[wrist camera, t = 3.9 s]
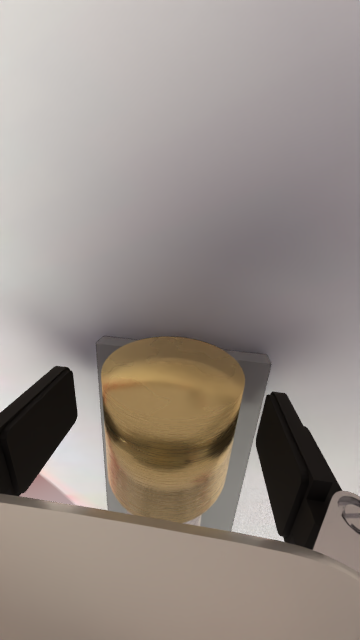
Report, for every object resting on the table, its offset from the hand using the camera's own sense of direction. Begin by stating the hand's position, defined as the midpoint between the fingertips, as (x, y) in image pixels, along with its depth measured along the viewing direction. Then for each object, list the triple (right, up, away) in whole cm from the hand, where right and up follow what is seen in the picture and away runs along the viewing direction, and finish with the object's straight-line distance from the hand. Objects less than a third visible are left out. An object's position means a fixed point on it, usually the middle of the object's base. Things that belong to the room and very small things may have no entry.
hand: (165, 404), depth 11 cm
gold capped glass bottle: (0, -5, +4) cm, 6 cm away
